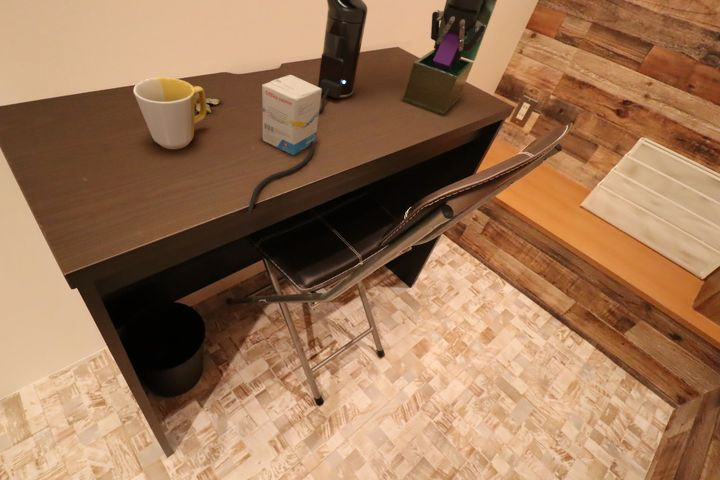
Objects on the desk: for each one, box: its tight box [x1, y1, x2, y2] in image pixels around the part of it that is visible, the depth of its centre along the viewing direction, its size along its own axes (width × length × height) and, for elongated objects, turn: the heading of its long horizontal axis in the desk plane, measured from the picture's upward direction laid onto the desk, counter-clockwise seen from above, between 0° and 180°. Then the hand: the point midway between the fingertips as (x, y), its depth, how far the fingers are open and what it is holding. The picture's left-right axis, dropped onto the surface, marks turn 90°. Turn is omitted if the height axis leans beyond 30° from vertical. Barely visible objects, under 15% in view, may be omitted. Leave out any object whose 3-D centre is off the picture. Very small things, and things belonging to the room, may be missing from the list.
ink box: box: [261, 74, 322, 156], centre depth 74 cm, size 9×8×12 cm
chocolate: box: [433, 32, 459, 71], centre depth 94 cm, size 8×4×4 cm
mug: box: [132, 76, 207, 150], centre depth 70 cm, size 14×10×10 cm
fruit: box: [191, 84, 221, 114], centre depth 83 cm, size 8×8×4 cm
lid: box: [433, 0, 498, 62], centre depth 94 cm, size 16×12×5 cm
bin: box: [402, 49, 474, 116], centre depth 99 cm, size 15×12×10 cm
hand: (444, 62), depth 96 cm, fingers closed on chocolate, 4 cm apart
